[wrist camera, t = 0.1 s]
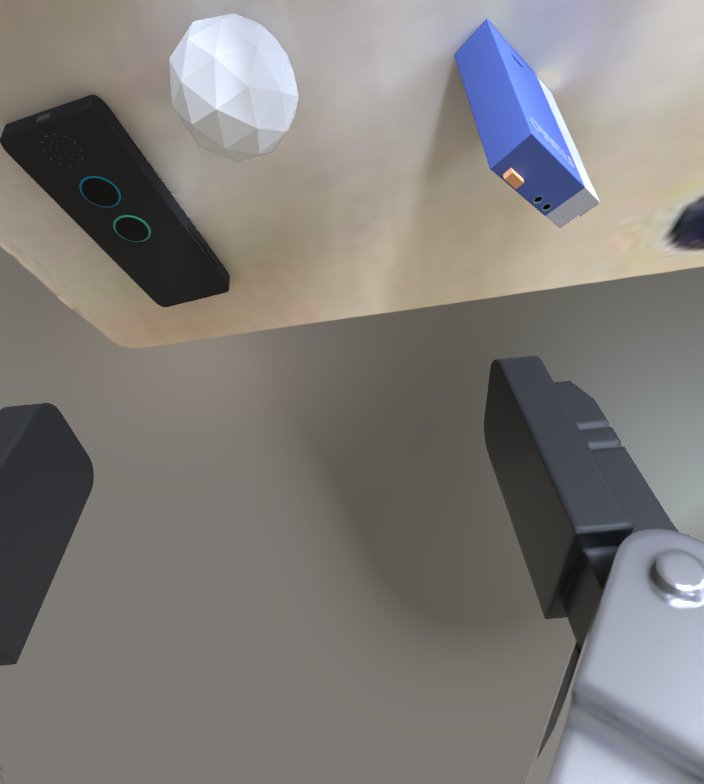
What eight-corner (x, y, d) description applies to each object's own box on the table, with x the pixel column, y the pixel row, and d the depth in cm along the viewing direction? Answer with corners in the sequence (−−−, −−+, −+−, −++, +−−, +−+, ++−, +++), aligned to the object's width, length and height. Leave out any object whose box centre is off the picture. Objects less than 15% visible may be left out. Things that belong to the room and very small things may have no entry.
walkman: (453, 54, 34) (490, 173, 28) (487, 18, 32) (533, 137, 26) (519, 121, 39) (562, 234, 33) (551, 92, 37) (603, 207, 31)
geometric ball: (233, -1, 32) (261, -35, 26) (300, 120, 37) (338, 117, 30) (137, 66, 32) (141, 50, 26) (216, 180, 37) (237, 191, 30)
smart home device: (95, 106, 33) (233, 291, 51) (99, 91, 34) (233, 278, 51) (-8, 142, 35) (159, 309, 52) (-2, 126, 36) (161, 296, 53)
